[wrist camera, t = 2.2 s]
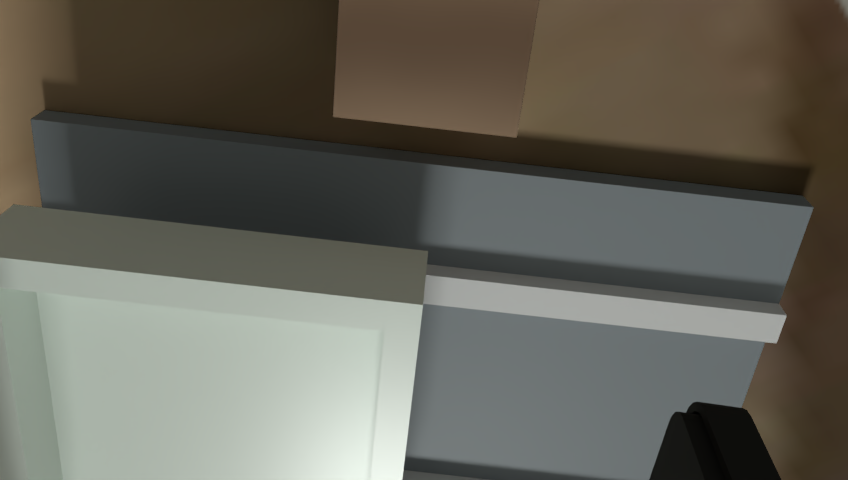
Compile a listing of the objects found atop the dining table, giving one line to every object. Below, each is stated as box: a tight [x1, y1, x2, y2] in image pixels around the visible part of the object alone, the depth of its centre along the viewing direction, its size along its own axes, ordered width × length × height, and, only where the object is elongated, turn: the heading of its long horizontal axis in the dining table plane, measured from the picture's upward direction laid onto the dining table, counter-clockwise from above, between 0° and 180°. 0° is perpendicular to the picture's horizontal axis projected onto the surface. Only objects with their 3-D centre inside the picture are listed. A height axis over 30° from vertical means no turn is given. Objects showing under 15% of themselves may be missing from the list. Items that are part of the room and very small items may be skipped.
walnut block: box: [333, 0, 539, 138], centre depth 23 cm, size 5×5×6 cm
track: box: [31, 110, 814, 480], centre depth 32 cm, size 19×27×2 cm
